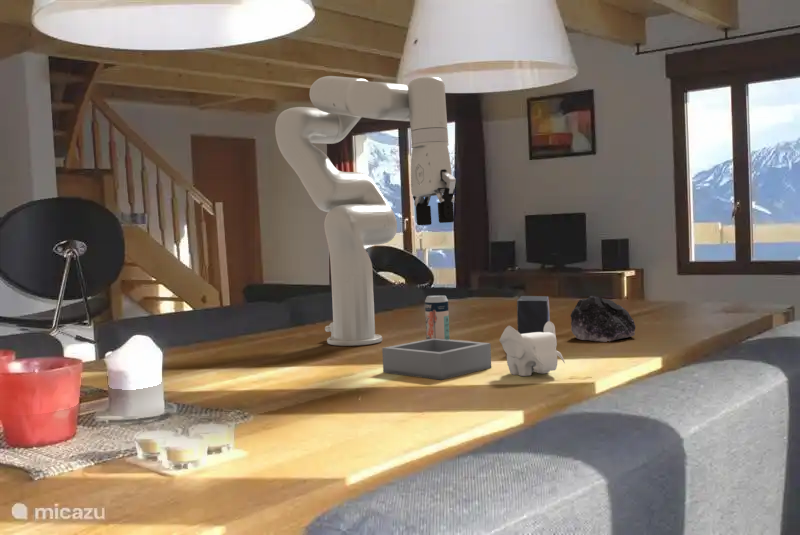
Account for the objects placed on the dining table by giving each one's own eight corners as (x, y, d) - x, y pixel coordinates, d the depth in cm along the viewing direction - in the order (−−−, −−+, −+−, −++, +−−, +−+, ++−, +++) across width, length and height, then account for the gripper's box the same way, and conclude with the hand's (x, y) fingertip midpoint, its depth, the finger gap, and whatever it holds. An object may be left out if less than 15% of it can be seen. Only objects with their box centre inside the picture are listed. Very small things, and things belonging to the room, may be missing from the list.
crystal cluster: (646, 343, 186) (646, 296, 187) (588, 342, 183) (589, 295, 184) (615, 340, 199) (616, 297, 200) (561, 339, 196) (562, 295, 196)
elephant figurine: (532, 383, 143) (530, 329, 142) (491, 373, 153) (490, 323, 153) (578, 376, 147) (576, 324, 147) (535, 367, 158) (534, 318, 157)
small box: (549, 351, 176) (547, 299, 175) (517, 351, 177) (515, 300, 176) (551, 343, 186) (549, 294, 185) (520, 343, 187) (518, 295, 187)
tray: (383, 372, 158) (382, 347, 158) (433, 361, 168) (433, 338, 168) (441, 379, 148) (440, 353, 148) (491, 367, 159) (490, 343, 158)
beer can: (425, 353, 178) (423, 295, 178) (448, 352, 179) (446, 294, 178) (428, 357, 173) (425, 297, 173) (451, 356, 174) (449, 296, 173)
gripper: (395, 145, 182) (400, 226, 182) (432, 133, 166) (438, 222, 167) (426, 145, 185) (432, 225, 186) (466, 133, 170) (472, 220, 170)
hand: (435, 223), depth 176 cm, fingers open, 9 cm apart
